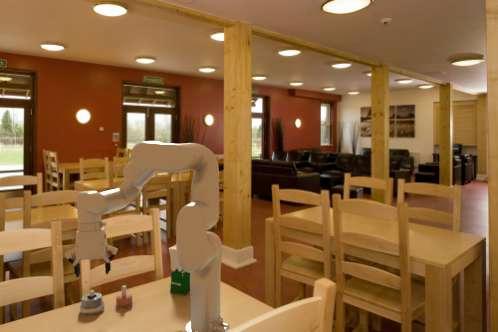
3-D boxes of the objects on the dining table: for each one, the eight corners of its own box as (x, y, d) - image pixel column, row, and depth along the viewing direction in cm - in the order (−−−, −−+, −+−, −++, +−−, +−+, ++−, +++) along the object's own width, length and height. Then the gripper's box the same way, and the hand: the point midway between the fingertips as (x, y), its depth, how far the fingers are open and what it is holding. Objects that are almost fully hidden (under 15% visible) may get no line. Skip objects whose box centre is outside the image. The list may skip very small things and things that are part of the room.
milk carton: (198, 288, 151) (197, 240, 149) (184, 297, 143) (183, 246, 141) (180, 284, 155) (180, 237, 153) (166, 292, 147) (165, 243, 145)
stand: (135, 303, 137) (135, 285, 136) (123, 309, 132) (122, 290, 132) (125, 300, 140) (125, 282, 140) (113, 305, 135) (112, 287, 135)
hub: (109, 308, 133) (108, 289, 133) (89, 317, 126) (88, 297, 126) (95, 303, 138) (95, 284, 137) (75, 311, 131) (74, 292, 130)
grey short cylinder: (103, 300, 136) (103, 292, 135) (99, 308, 129) (99, 299, 129) (84, 301, 134) (84, 293, 134) (80, 309, 128) (79, 301, 128)
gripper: (117, 222, 135) (120, 268, 136) (66, 225, 131) (69, 273, 133) (114, 227, 127) (117, 275, 129) (60, 231, 124) (63, 280, 125)
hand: (93, 274), depth 131 cm, fingers open, 9 cm apart
